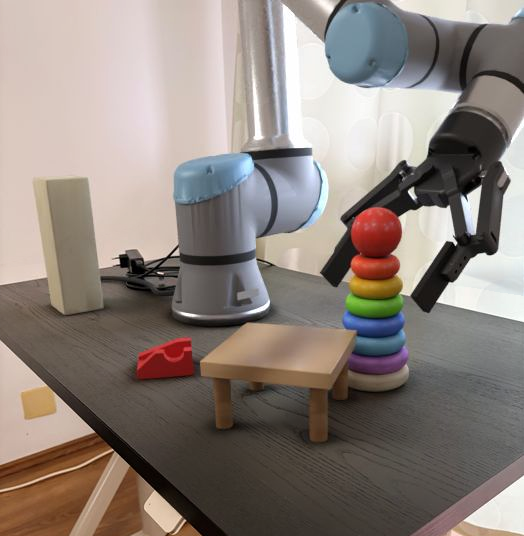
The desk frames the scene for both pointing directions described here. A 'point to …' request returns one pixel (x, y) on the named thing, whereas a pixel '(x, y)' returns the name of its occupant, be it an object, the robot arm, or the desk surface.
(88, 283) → the white rectangular block
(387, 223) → the stacking toy
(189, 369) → the red notched block
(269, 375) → the stool
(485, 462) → the desk surface
